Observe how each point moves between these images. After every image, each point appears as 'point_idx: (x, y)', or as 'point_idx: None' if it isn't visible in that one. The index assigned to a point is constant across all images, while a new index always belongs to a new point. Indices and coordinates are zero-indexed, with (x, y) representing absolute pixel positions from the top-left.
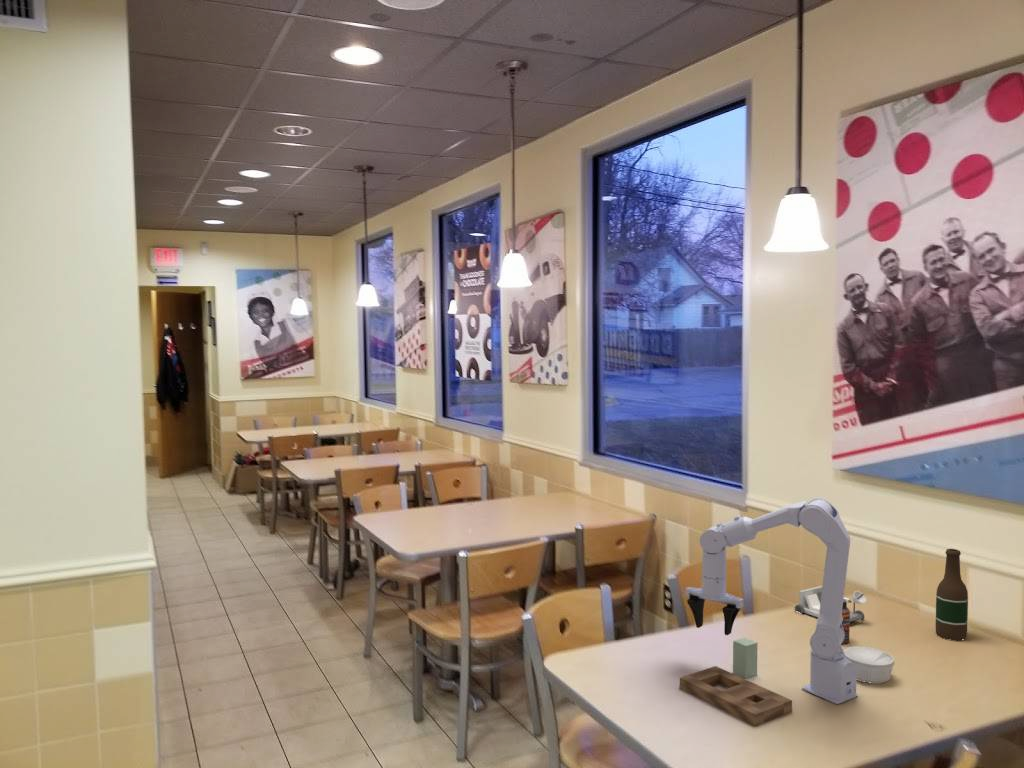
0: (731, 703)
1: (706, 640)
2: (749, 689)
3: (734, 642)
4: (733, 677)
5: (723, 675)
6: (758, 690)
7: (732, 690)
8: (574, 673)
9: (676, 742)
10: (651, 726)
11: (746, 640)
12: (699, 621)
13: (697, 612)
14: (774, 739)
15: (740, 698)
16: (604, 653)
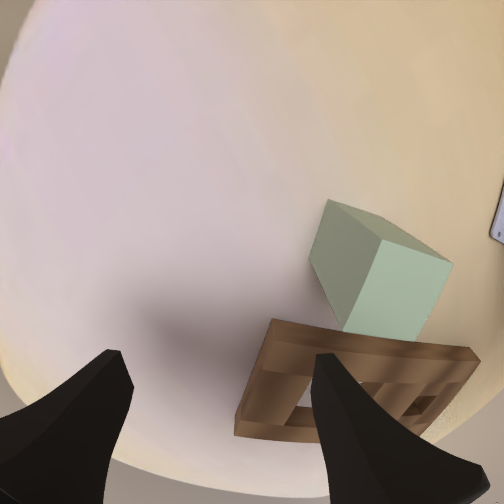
0: None
1: (83, 55)
2: (406, 388)
3: (348, 329)
4: (356, 368)
5: None
6: (425, 379)
7: None
8: None
9: (322, 485)
10: (276, 485)
11: (403, 275)
12: (118, 405)
13: (102, 466)
14: (436, 422)
15: None
16: (17, 346)
